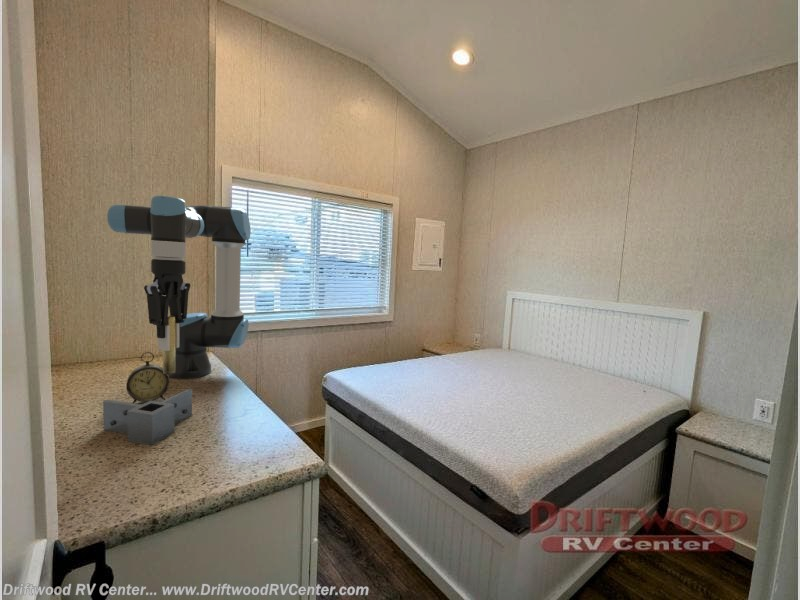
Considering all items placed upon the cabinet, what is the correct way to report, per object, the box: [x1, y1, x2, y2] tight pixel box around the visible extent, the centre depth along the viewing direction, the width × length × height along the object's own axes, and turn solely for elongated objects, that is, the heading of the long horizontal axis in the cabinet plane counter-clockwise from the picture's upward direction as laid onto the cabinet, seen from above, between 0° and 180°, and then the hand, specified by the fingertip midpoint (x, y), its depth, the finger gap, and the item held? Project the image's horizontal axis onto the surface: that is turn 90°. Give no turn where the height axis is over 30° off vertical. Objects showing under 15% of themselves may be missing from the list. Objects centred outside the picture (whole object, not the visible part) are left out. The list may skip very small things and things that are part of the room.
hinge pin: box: [162, 315, 175, 374], centre depth 99 cm, size 3×3×15 cm
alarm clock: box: [125, 351, 170, 404], centre depth 118 cm, size 11×5×16 cm, turn 123°
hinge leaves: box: [102, 388, 193, 446], centre depth 104 cm, size 18×18×8 cm
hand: (168, 348), depth 99 cm, fingers closed on hinge pin, 3 cm apart
